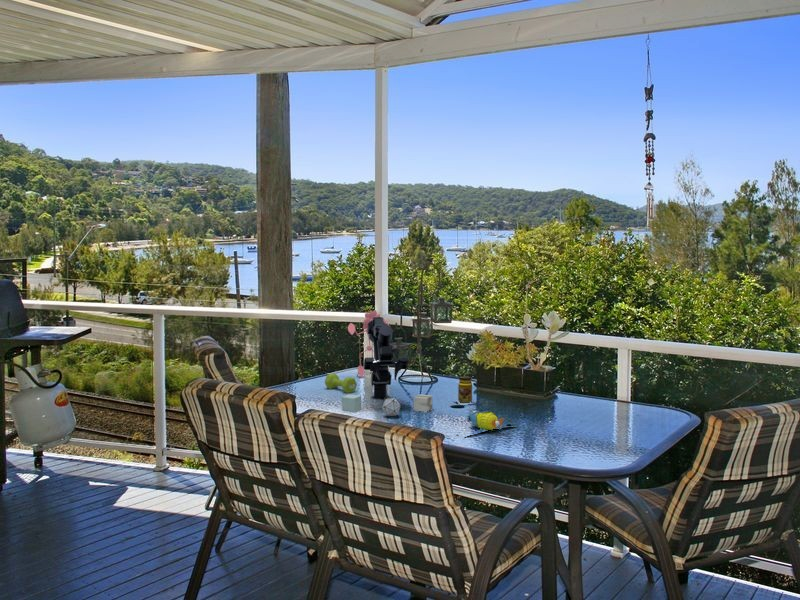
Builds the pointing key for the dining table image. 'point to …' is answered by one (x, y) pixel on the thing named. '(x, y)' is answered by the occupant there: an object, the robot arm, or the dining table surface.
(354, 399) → the sage block
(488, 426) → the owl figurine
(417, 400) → the birch block
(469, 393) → the condiment
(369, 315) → the pink tall part
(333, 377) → the dumbbell
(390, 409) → the game die
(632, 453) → the dining table surface
